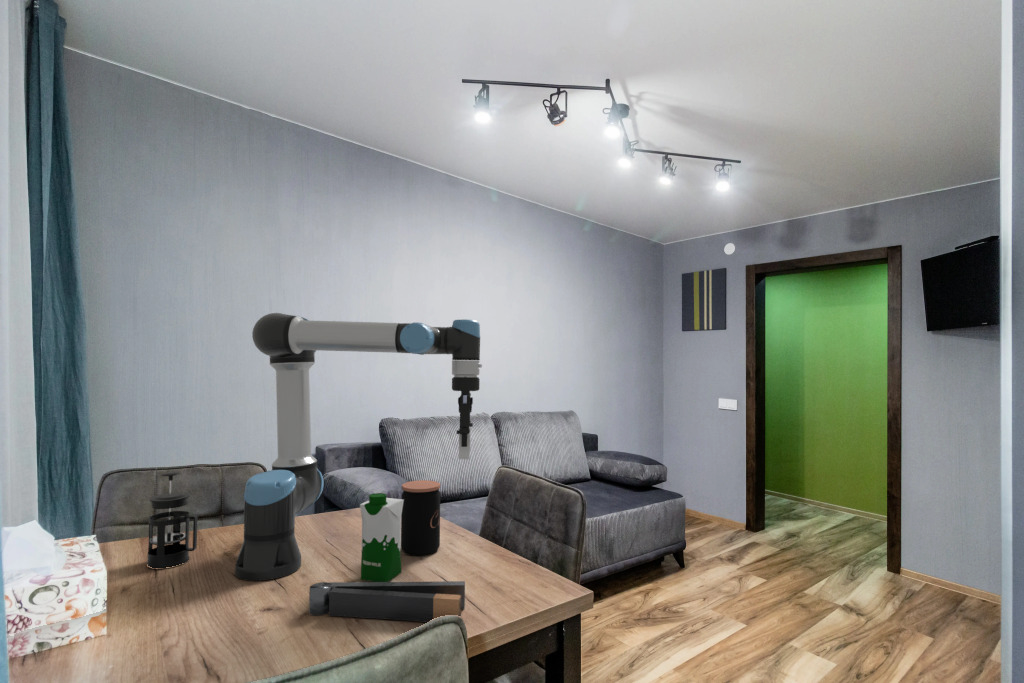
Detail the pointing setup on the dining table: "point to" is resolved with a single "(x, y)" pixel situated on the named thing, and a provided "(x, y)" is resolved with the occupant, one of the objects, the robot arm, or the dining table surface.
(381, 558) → the milk carton
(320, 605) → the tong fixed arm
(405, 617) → the arm
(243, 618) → the dining table surface
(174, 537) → the french press
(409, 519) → the coffee jar
